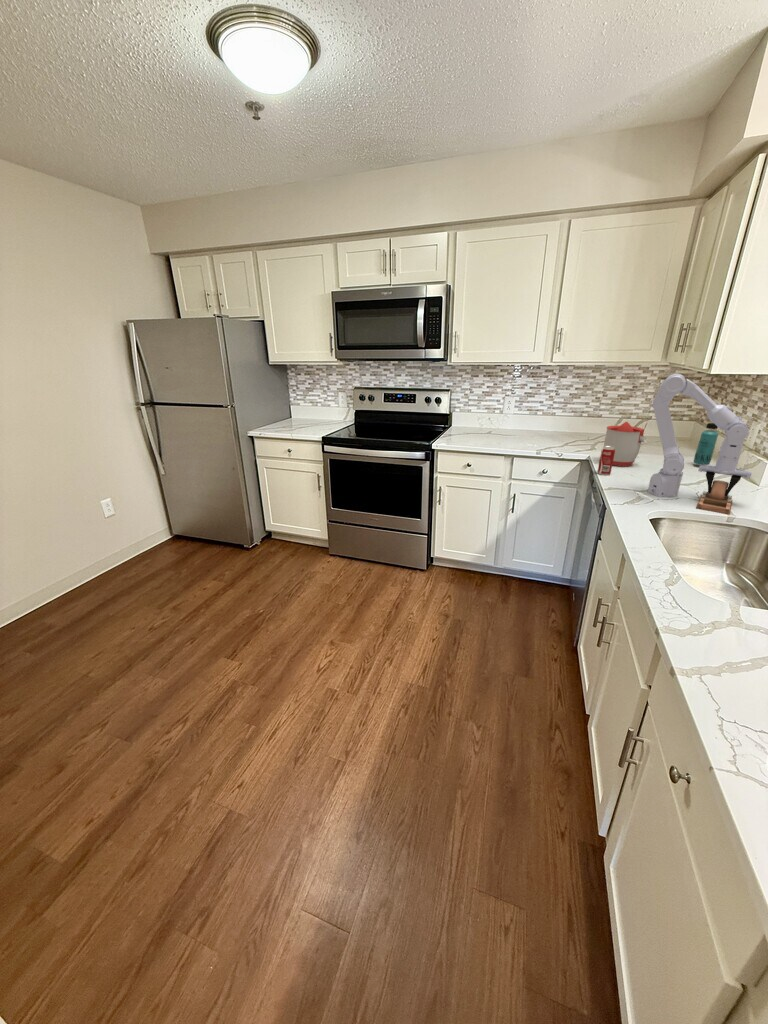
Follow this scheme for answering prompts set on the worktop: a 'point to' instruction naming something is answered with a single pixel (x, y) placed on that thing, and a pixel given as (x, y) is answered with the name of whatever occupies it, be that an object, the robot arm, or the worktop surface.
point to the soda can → (606, 460)
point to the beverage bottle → (706, 445)
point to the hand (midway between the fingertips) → (717, 493)
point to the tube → (718, 489)
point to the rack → (714, 504)
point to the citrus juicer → (624, 443)
